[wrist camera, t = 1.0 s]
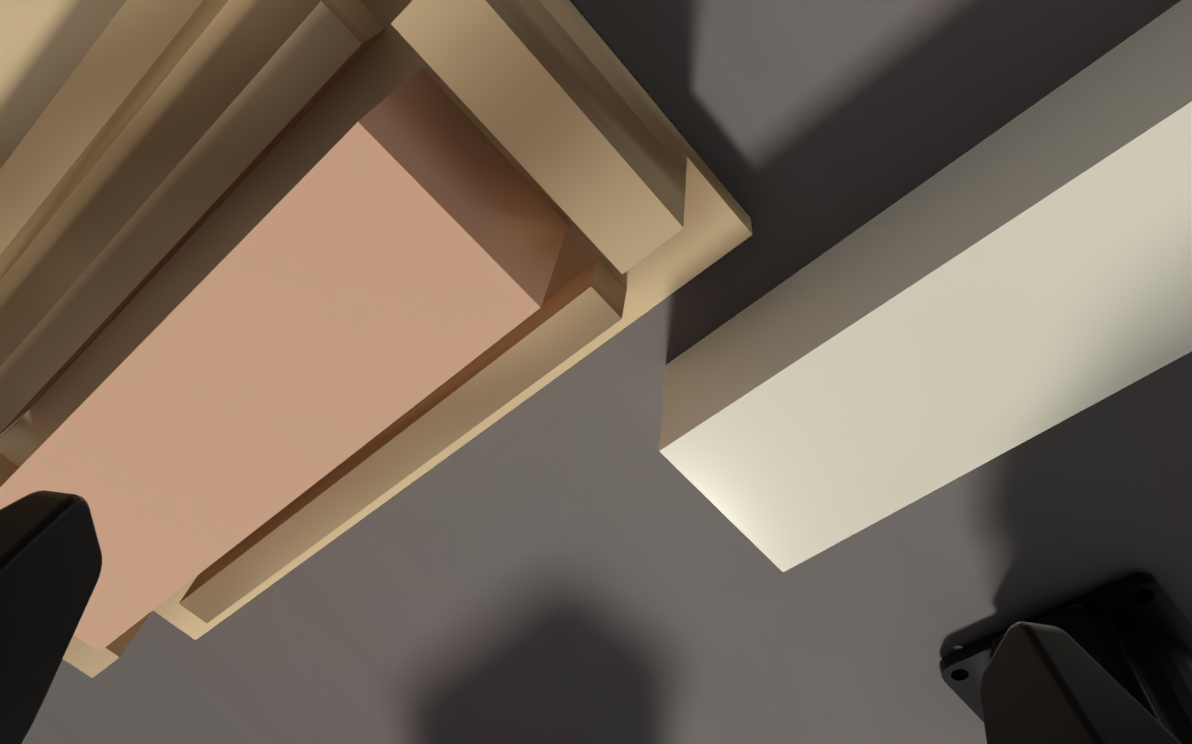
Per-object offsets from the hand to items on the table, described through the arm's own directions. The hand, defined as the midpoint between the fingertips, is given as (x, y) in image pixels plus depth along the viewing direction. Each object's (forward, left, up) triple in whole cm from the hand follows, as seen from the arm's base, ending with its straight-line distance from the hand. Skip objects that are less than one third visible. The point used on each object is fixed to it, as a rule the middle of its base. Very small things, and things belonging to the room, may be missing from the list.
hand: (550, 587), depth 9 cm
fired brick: (+2, +10, -12) cm, 16 cm away
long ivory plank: (-7, -5, -14) cm, 16 cm away
